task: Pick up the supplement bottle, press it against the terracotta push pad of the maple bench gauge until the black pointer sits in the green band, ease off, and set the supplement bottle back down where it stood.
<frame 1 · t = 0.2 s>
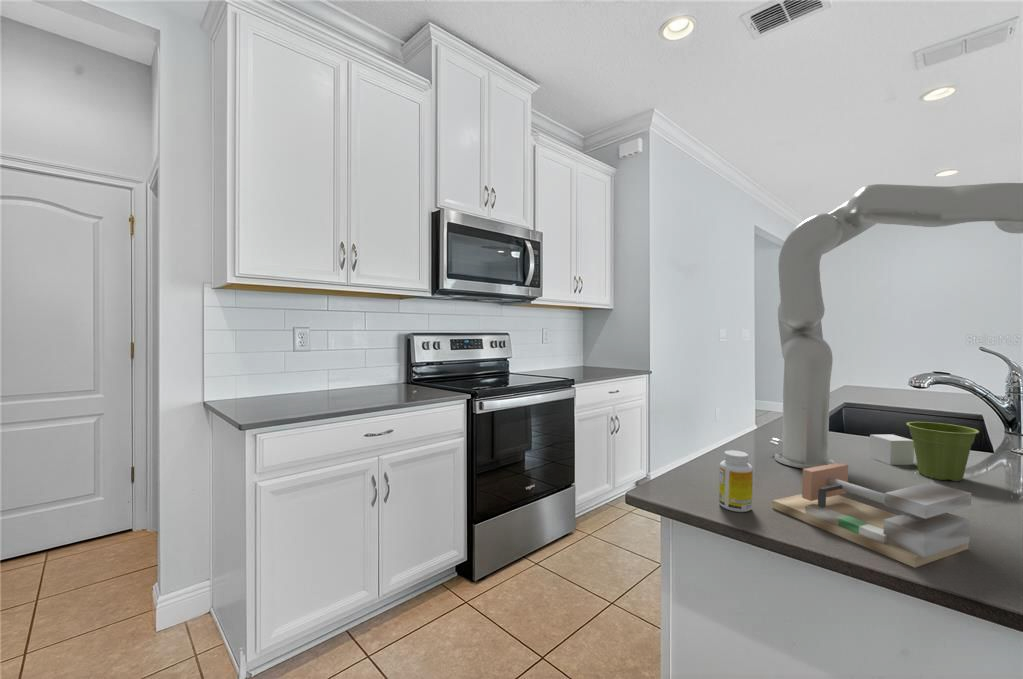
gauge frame: (860, 526, 76), on the table
supplement bottle: (735, 508, 84), on the table
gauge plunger: (863, 494, 75), point 6 cm above the table, slide at 0.0 cm
plant pot: (939, 477, 101), on the table
white cube: (890, 461, 113), on the table
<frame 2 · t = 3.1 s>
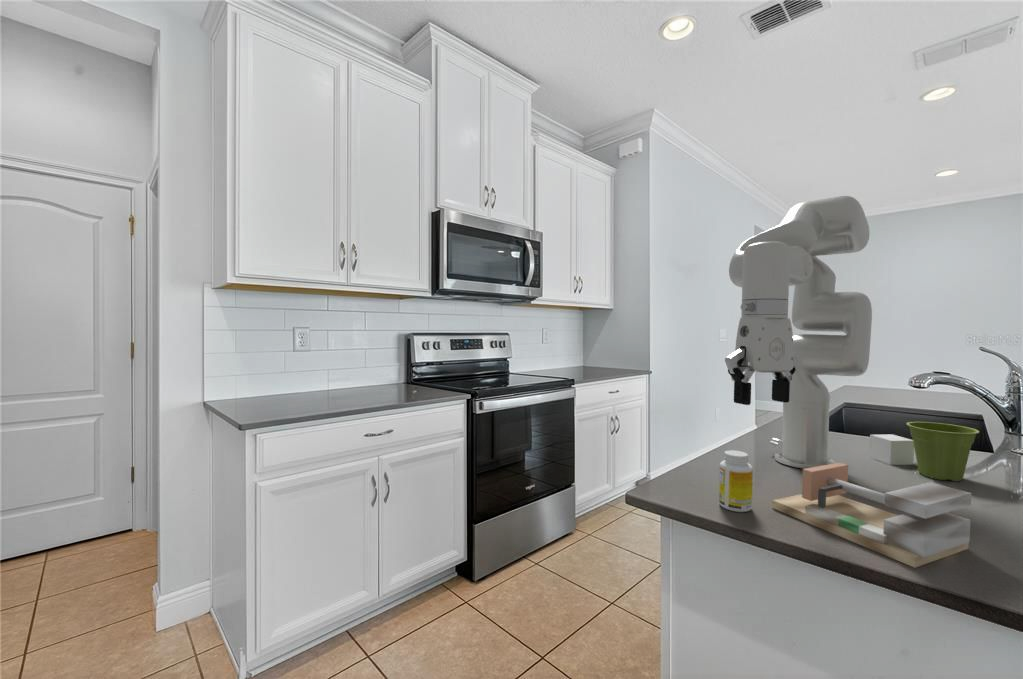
hand: (761, 402, 84), 20 cm above the table, tool pointing down, fingers open, 9 cm apart
nothing on the table moved.
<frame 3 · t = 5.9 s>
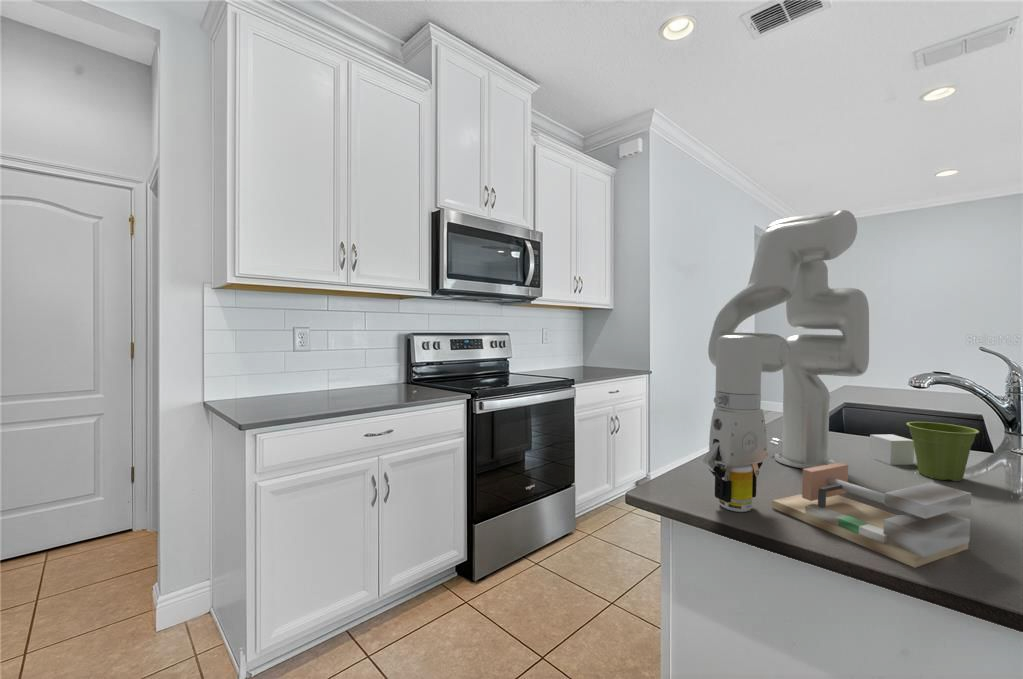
hand: (735, 496, 84), 2 cm above the table, tool pointing down, fingers closed on supplement bottle, 5 cm apart
supplement bottle: (735, 508, 84), on the table, touching gripper
everything else where it was.
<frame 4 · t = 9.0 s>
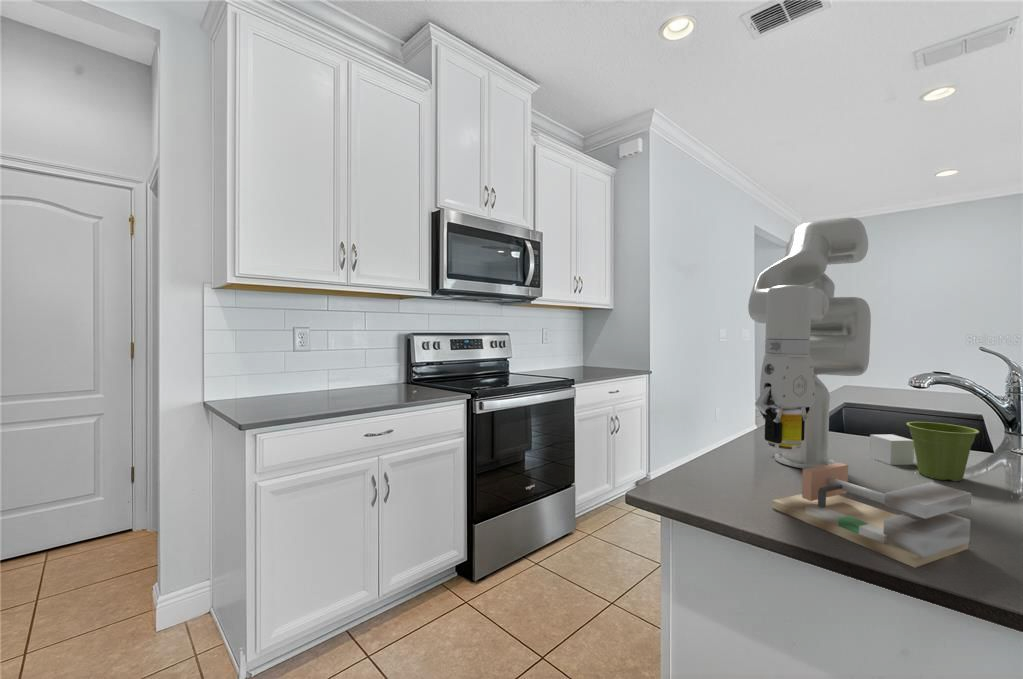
hand: (784, 439, 89), 12 cm above the table, tool pointing down, fingers closed on supplement bottle, 5 cm apart
supplement bottle: (784, 450, 89), point 9 cm above the table, touching gripper
everything else where it was.
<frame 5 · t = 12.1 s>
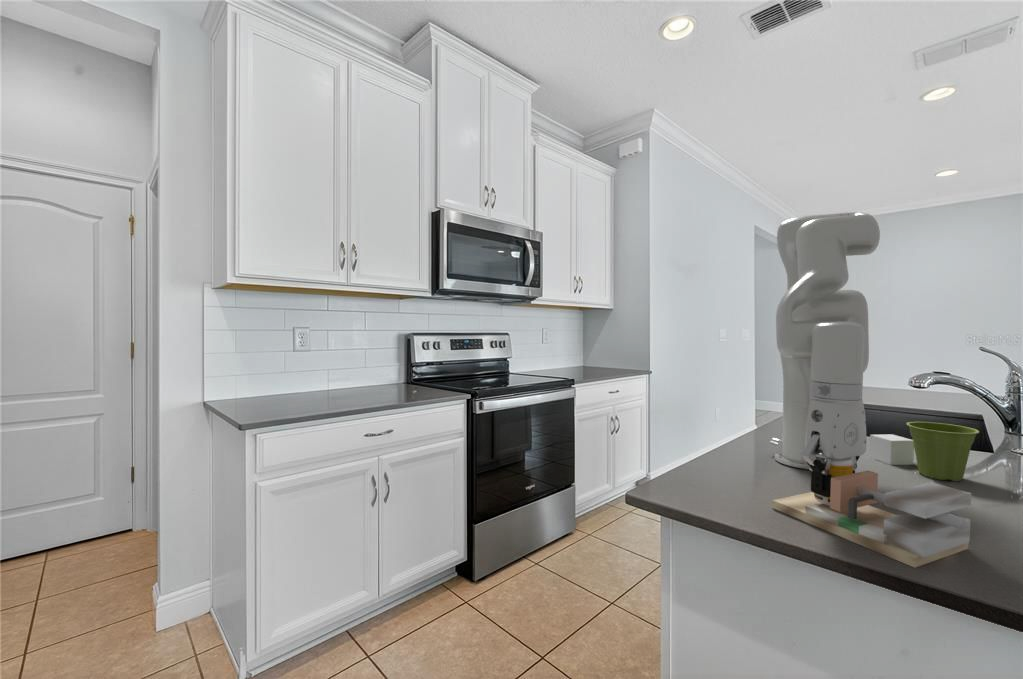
hand: (832, 491, 81), 4 cm above the table, tool pointing down, fingers closed on supplement bottle, 5 cm apart
supplement bottle: (832, 503, 81), point 2 cm above the table, touching gripper
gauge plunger: (897, 505, 71), point 6 cm above the table, slide at 4.8 cm
everything else where it was.
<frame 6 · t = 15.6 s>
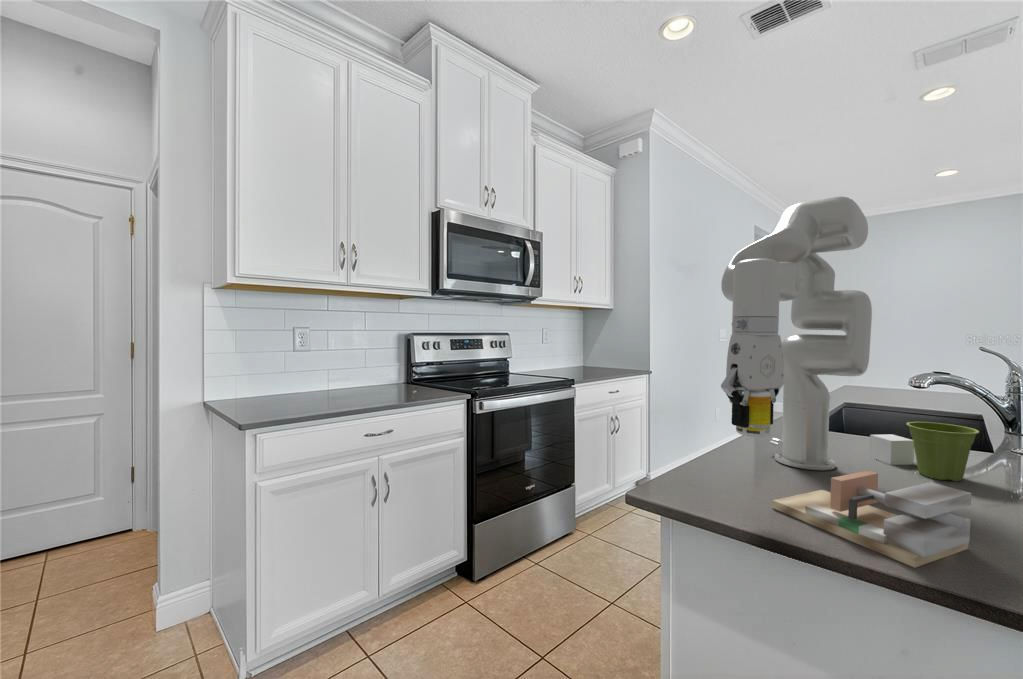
hand: (752, 423, 83), 16 cm above the table, tool pointing down, fingers closed on supplement bottle, 5 cm apart
supplement bottle: (752, 435, 83), point 14 cm above the table, touching gripper
everything else where it was.
when the fingers open (3 cm above the table, at t = 18.7 s): supplement bottle stays where it is, on the table.
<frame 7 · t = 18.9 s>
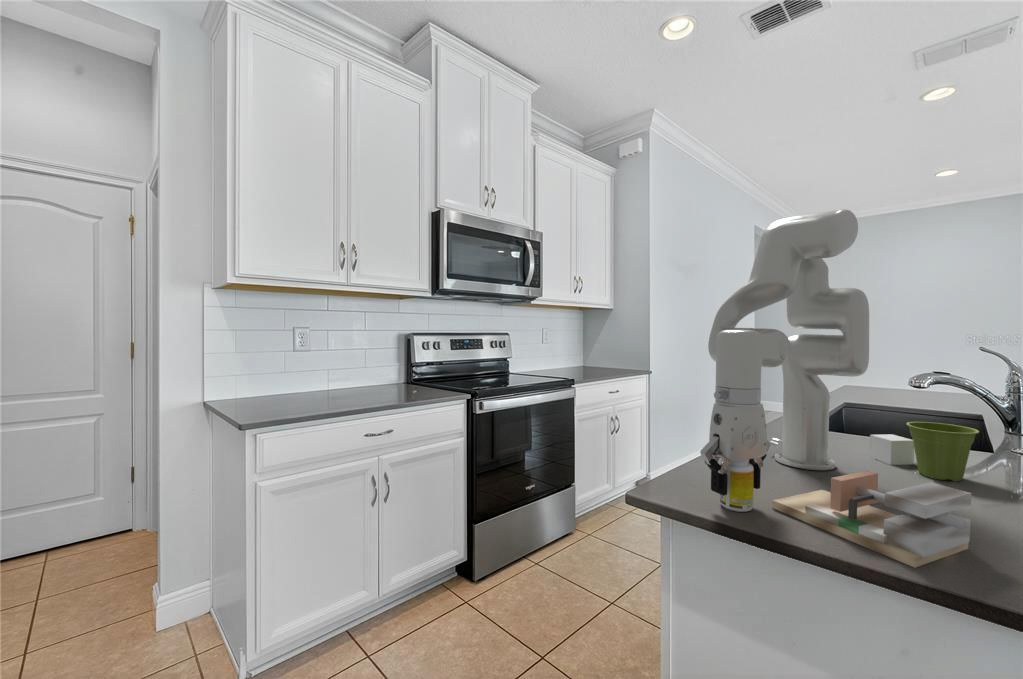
hand: (735, 489, 84), 3 cm above the table, tool pointing down, fingers open, 7 cm apart
supplement bottle: (736, 507, 84), on the table
everything else where it was.
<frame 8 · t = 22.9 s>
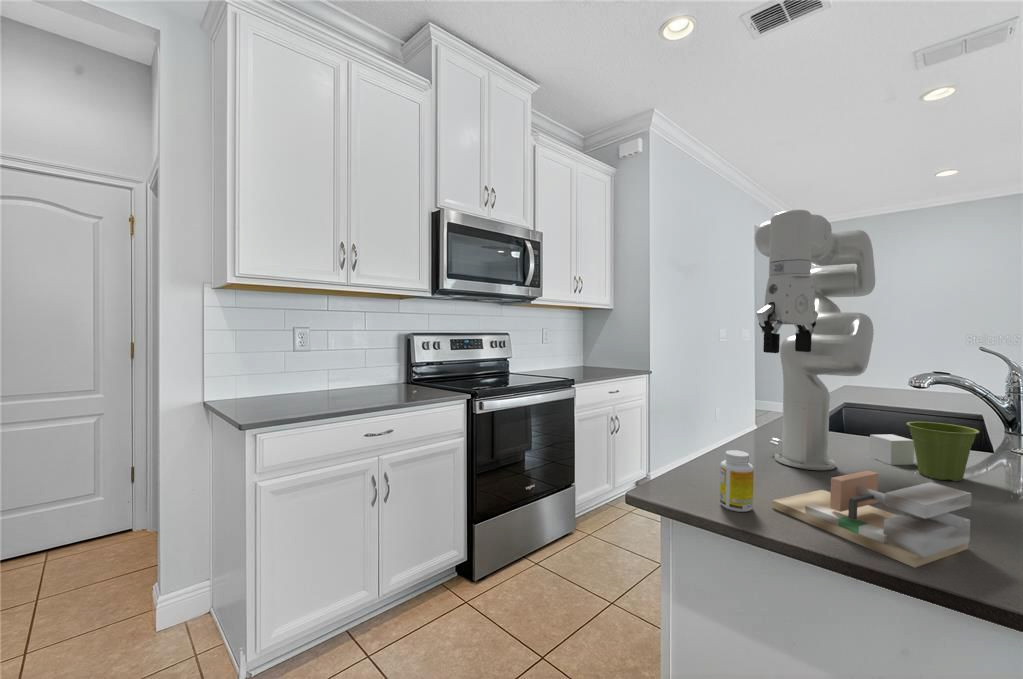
hand: (787, 352, 95), 28 cm above the table, tool pointing down, fingers open, 9 cm apart
nothing on the table moved.
at the end: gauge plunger slide at 4.9 cm; supplement bottle tilted 0°; supplement bottle inside the target area (0.2 cm from its centre), on the table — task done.
